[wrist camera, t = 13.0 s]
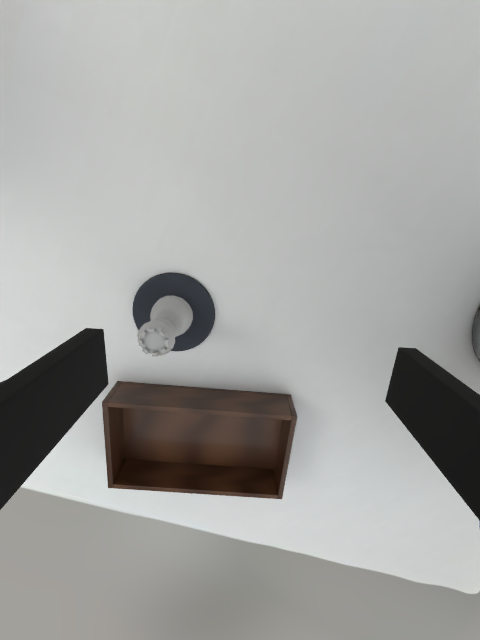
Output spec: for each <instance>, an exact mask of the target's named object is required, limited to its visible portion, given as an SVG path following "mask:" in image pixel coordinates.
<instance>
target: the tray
mask: <svg viewBox="0 0 480 640" xmlns="http://www.w3.org/2000/svg"><path fill="white" fill-rule="evenodd" d="M102 407H103V421H104V435H105V449H106V463H107V477H108V488H119V489H134V490H150V491H165V492H180V493H196V494H211V495H227V496H242V497H257V498H273V499H282V496H283V491H284V485H285V480H286V475H287V469H288V464H289V458H290V453H291V447H292V442H293V436H294V431H295V426H296V420H297V414H296V411H295V408H294V404H293V401H292V398H291V395H288V394H275V393H262V392H249V391H236V390H223V389H210V388H197V387H184V386H171V385H158V384H145V383H132V382H119V381H117V383H116V384H115V386H114V387H113V388H112V390H111V391H110V392H109V394H108V395H107V396H106V398H105V399H104V400H103V402H102Z"/></svg>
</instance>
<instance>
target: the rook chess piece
mask: <svg viewBox="0 0 480 640" xmlns="http://www.w3.org/2000/svg"><path fill="white" fill-rule="evenodd" d="M150 318H151V321H150V322H147V323H145V324H144V325H143V326H142V327H141V328H140V329H139V332H138V342H139V346H141V347H142V348H143V350H142V351H143V352H144V353H146V354H147V353H150V354H152V356H158V355H163V354H166V353H168V352H169V351H170V350H171V349H172V348H173V346H174V344H175V337H176V336H179V335H181V334H183V333H184V332H185V331H186V330H187V329H188V328H189V327H190V326H191V323H192V320H193V313H192V309H191V307H190V305H189V304H188V303H187V302H186V301H185V300H184V299H182V298H180V297H177V296H165V297H163V298H160V299H159V300H158V301H157V302H156V303H155V304H154V306H153V307H152V310H151V314H150Z"/></svg>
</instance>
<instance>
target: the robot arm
mask: <svg viewBox="0 0 480 640" xmlns="http://www.w3.org/2000/svg"><path fill="white" fill-rule="evenodd" d="M472 339H473V347H474V350H475V353H476V355H477V357H478V359H479V361H480V308H479V310H478V312H477V315H476V318H475V321H474V325H473V333H472ZM107 385H108V374H107V364H106V353H105V342H104V331H103V329H90V328H86V329H84V330H83V331H81V332H80V333H78V334H76V335H75V336H73V337H72V338H70V339H69V340H67V341H66V342H64V343H63V344H61V345H60V346H58V347H57V348H55V349H53V350H52V351H50V352H49V353H47V354H46V355H44V356H43V357H41V358H40V359H38V360H37V361H35V362H34V363H32V364H30V365H29V366H27V367H26V368H24V369H23V370H21V371H20V372H18V373H17V374H15V375H14V376H12V377H11V378H9V379H7V380H5V381H3V382H0V509H1V508H2V507H3V506H4V505H5V504H6V503H7V502H8V500H9V499H10V498H11V497H12V496H13V495H14V493H15V492H16V491H17V490H18V489H19V488H20V486H21V485H22V484H23V483H24V482H25V481H26V479H27V478H28V477H29V476H30V475H31V474H32V472H33V471H34V470H35V469H36V468H37V467H38V465H39V464H40V463H41V462H42V461H43V460H44V458H45V457H46V456H47V455H48V454H49V453H50V451H51V450H52V449H53V448H54V447H55V446H56V444H57V443H58V442H59V441H60V440H61V439H62V437H63V436H64V435H65V434H66V433H67V432H68V430H69V429H70V428H71V427H72V426H73V425H74V423H75V422H76V421H77V420H78V419H79V418H80V416H81V415H82V414H83V413H84V412H85V411H86V410H87V408H88V407H89V406H90V405H91V404H92V403H93V401H94V400H95V399H96V398H97V397H98V396H99V394H100V393H101V392H102V391H103V390H104V389H105V387H106V386H107ZM385 401H386V402H387V404H388V405H389V406H390V408H391V409H392V410H393V411H394V413H395V414H396V415H397V416H398V418H399V419H400V420H401V421H402V423H403V424H404V425H405V427H406V428H407V429H408V430H409V432H410V433H411V434H412V435H413V437H414V438H415V439H416V440H417V442H418V443H419V444H420V446H421V447H422V448H423V449H424V451H425V452H426V453H427V454H428V456H429V457H430V458H431V459H432V461H433V462H434V463H435V464H436V466H437V467H438V468H439V470H440V471H441V472H442V473H443V475H444V476H445V477H446V478H447V480H448V481H449V482H450V483H451V485H452V486H453V487H454V489H455V490H456V491H457V492H458V494H459V495H460V496H461V497H462V499H463V500H464V501H465V502H466V504H467V505H468V506H469V507H470V509H471V510H472V511H473V513H474V514H475V515H476V516H477V518H478V519H479V527H480V395H479V394H477V393H476V392H475V391H473V390H472V389H471V388H469V387H468V386H466V385H465V384H464V383H462V382H461V381H460V380H458V379H457V378H455V377H454V376H453V375H451V374H450V373H449V372H447V371H446V370H445V369H443V368H442V367H440V366H439V365H438V364H436V363H435V362H434V361H432V360H431V359H429V358H428V357H427V356H425V355H424V354H423V353H421V352H420V351H419V350H417V349H416V348H398V352H397V356H396V360H395V364H394V368H393V372H392V376H391V380H390V384H389V388H388V392H387V396H386V400H385Z"/></svg>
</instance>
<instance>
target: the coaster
mask: <svg viewBox="0 0 480 640" xmlns="http://www.w3.org/2000/svg"><path fill="white" fill-rule="evenodd" d="M165 296H177V297H180V298H182V299H184V300H185V301H186V302H187V303H188V304H189V305H190V307H191V309H192V313H193V320H192V323H191V326H190V327H189V328H188V329H187V330H186V331H185V332H184V333H183V334H181V335H179V336H176V337H175V344H174V346H173V348H172V349H171V350H170V351H183V350H188V349H191V348H193V347H195V346H197V345H199V344H200V343H201V342H203V341H204V340H205V339H206V338H207V336H208V335H209V333H210V332H211V330H212V327H213V324H214V319H215V309H214V304H213V301H212V298H211V297H210V295H209V293H208V292H207V290H206V289H205V288H204V287H203V286H202V285H201V284H200V283H199V282H198V281H196V280H195V279H193V278H191V277H189V276H187V275H184V274H179V273H164V274H160V275H157V276H154V277H152V278H151V279H149V280H148V281H146V282H145V283H144V284H143V285H142V286H141V287H140V289H139V290H138V292H137V293H136V296H135V298H134V302H133V316H134V320H135V323H136V326H137V328H138V329H140V328H141V327H142V326H143V325H144V324H145V323H147V322H150V321H151V318H150V314H151V310H152V307H153V306H154V304H155V303H156V302H157V301H158V300H159V299H160V298H163V297H165Z"/></svg>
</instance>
